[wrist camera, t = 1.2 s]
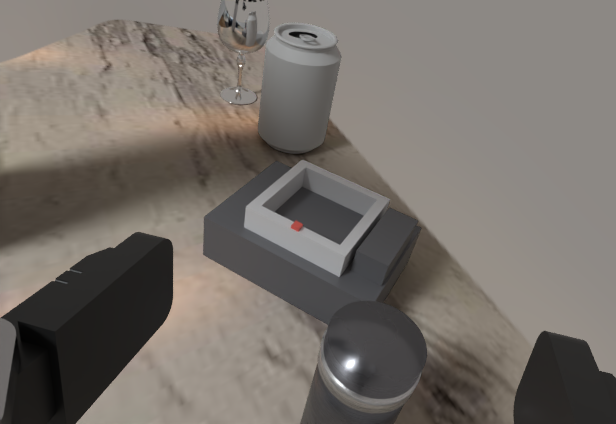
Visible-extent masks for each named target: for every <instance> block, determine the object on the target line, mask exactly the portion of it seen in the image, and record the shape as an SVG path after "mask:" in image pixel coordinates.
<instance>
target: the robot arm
mask: <svg viewBox="0 0 616 424" xmlns="http://www.w3.org/2000/svg"><path fill="white" fill-rule="evenodd" d="M172 300H173V246H172V242H171V241H170V240H169V239H166V238H162V237H157V236H153V235H149V234H145V233H141V232H136V233H134V234H132V235H131V236H130V237H128V238H127V239H126V240H124V241H123V242H122V243H120V244H119V245H118V246H116V247H115V248H111V247H110V248H107V249H105V250H102V251H99V252H96V253H94V254H91V255H88V256H86V257H85V258H84V259H82V260H81V261H79V262H78V263H77V264H75V265H74V266H72V267H71V268H70V271H65V272H64V273H63V274H61V275H60V276H59V277H57V278H56V280H55V282H54V281H52V282H50V283H49V284H47V285H46V286H45V287H43V288H42V289H40V290H39V291H38V292H36V293H35V294H33V295H32V296H31V297H29V298H28V299H26V300H25V301H24V302H22V303H21V304H19V305H18V306H17V307H15V308H14V309H12V310H11V311H10V312H8V313H7V314H5V315H4V316H3V317H1V318H0V424H76V423H77V421H78V420H79V419H80V418H81V417H82V416H83V415H84V413H85V412H86V411H87V410H88V409H89V408H90V407H91V405H92V404H93V403H94V402H95V401H96V400H97V398H98V397H99V396H100V395H101V394H102V393H103V392H104V390H105V389H106V388H107V387H108V386H109V385H110V384H111V382H112V381H113V380H114V379H115V378H116V377H117V376H118V374H119V373H120V372H121V371H122V370H123V369H124V368H125V366H126V365H127V364H128V363H129V362H130V361H131V360H132V358H133V357H134V356H135V355H136V354H137V353H138V352H139V350H140V349H141V348H142V347H143V346H144V345H145V344H146V342H147V341H148V340H149V339H150V338H151V337H152V336H153V334H154V333H155V332H156V331H157V330H158V329H159V328H160V326H161V325H162V324H163V323H164V321H165V320H166V318H167V316H168V314H169V312H170V309H171V305H172ZM514 424H616V378H615V377H614V376H613V375H612V374H610V373H606V372H602V371H599V369H598V367H597V364H596V362H595V360H594V357H593V355H592V353H591V350H590V347H589V345H588V344H587V342H586V341H584V340H580V339H576V338H572V337H568V336H564V335H560V334H556V333H551V332H547V331H543V332H542V333H541V334H540V335H539V337H538V339H537V341H536V343H535V346H534V348H533V351H532V353H531V356H530V358H529V361H528V364H527V366H526V369H525V371H524V374H523V376H522V379H521V381H520V384H519V386H518V389H517V392H516V396H515V402H514Z"/></svg>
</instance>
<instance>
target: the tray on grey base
mask: <svg viewBox="0 0 616 424" xmlns="http://www.w3.org/2000/svg"><path fill="white" fill-rule="evenodd" d="M389 202H390V199H389V198H387V197H385V196H382V195H380V194H378V193H376V192H373V191H371V190H369V189H367V188H365V187H362V186H360V185H358V184H356V183H354V182H351V181H349V180H347V179H345V178H343V177H340V176H338V175H336V174H334V173H331V172H329V171H327V170H325V169H323V168H320V167H318V166H316V165H314V164H312V163H309V162H307V161H305V160H303V159H302V160H301V161H300V162H299V163H297V164H296V165H295V166H294V167H293V168H291V167H289V166H287V165H284V164H282V163H280V162H278V161H275V162H274V163H273V164H271V165H270V166H269V167H267V168H266V169H265V170H264V171H262V172H261V173H260V174H259V175H257V176H256V177H255V178H253V179H252V180H251V181H250V182H248V183H247V184H246V185H244V186H243V187H242V188H241V189H239V190H238V191H237V192H235V193H234V194H233V195H232V196H230V197H229V198H228V199H226V200H225V201H224V202H223V203H221V204H220V205H219V206H217V207H216V208H215V209H214V210H212V211H211V212H210V213H208V214H207V215H206V216H205V217H204V244H203V255H205V256H206V257H208V258H210V259H212V260H214V261H215V262H217V263H219V264H221V265H223V266H224V267H226V268H228V269H230V270H231V271H233V272H235V273H237V274H239V275H240V276H242V277H244V278H246V279H248V280H249V281H251V282H253V283H255V284H256V285H258V286H260V287H262V288H264V289H265V290H267V291H269V292H271V293H273V294H274V295H276V296H278V297H280V298H281V299H283V300H285V301H287V302H289V303H290V304H292V305H294V306H296V307H297V308H299V309H301V310H303V311H305V312H306V313H308V314H310V315H312V316H314V317H315V318H317V319H319V320H321V321H322V322H324V323H326V324H328V325H329V322H330V320H331V318H332V316H333V315H334V314H335V313H336V312H337V311H338V310H339V309H340V308H342V307H343V306H345V305H347V304H349V303H352V302H357V301H377V302H381V303H383V302H384V300H385V299H386V297H387V295H388V294H389V292H390V290H391V289H392V287H393V286H394V284H395V282H396V281H397V279H398V277H399V276H400V274H401V272H402V271H403V269H404V268H405V266H406V264H407V263H408V260H409V258H410V255H411V253H412V250H413V248H414V245H415V243H416V240H417V238H418V235H419V233H420V230H421V227H419V226H416V225H417V223H418V220H416V219H413V218H411V217H409V216H407V215H405V214H402V213H400V212H398V211H396V210H394V209H392V208H389V209H388V210H387V208H388V205H389Z"/></svg>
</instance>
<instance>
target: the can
mask: <svg viewBox="0 0 616 424" xmlns="http://www.w3.org/2000/svg"><path fill="white" fill-rule="evenodd" d="M274 34H275V35H274V36H273V37H272V38H270V39H269V40H268V42H267V43H266V50H265V60H264V70H263V80H262V90H261V100H260V110H259V120H258V133H259V135H260V136H261V138H262V139H264V140H265V141H266V143H267V144H268V145H270V146H271V147H272V148H274V149H276V150H278V151H281V152H285V153H292V154H300V153H306V152H309V151H311V150H312V149H314V148H317V147H318V146H320V145H321V144H322V143H323V141H324V139H325V135H326V130H327V125H328V120H329V115H330V110H331V105H332V100H333V96H334V91H335V86H336V81H337V76H338V71H339V66H340V60H341V54H340V51H339V50H338V48H337V46H336V44H337V42H338V40H337V37H336V36H335V35H334V34H333V33H332V32H330V31H328V30H326V29H324V28H321V27H319V26H315V25H311V24H305V23H285V24H281V25H279V26H277V27H276V28H275V29H274Z"/></svg>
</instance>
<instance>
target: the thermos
mask: <svg viewBox="0 0 616 424" xmlns="http://www.w3.org/2000/svg"><path fill="white" fill-rule="evenodd" d="M426 358H427V348H426V343H425V339H424V337H423V335H422V333H421V331H420V329H419V328H418V327H417V325H416V324H415V323H414V322H413V321H412V320H411V319H410V318H409V317H408V316H407V315H406V314H404V313H403V312H401V311H400V310H398V309H396V308H395V307H392V306H390V305H388V304H385V303H381V302H377V301H357V302H352V303H349V304H347V305H345V306H343V307H342V308H340V309H339V310H338V311H337V312H336V313H335V314H334V315H333V316H332V318H331V320H330V322H329V325H328V328H327V329H326V331H325V333H324V335H323V338H322V341H321V345H320V348H319V353H318V363H317V367H316V370H315V374H314V377H313V381H312V384H311V388H310V391H309V395H308V398H307V402H306V405H305V409H304V412H303V416H302V419H301V423H300V424H394V422H395V420H396V418H397V416H398V415H399V413H400V411H401V409H402V407H403V405H404V403H406V402H407V401H408V399H409V398H410V397H411V395H412V393H413V391H414V389H415V387H416V386H417V384H418V382H419V380H420V377H421V374H422V369H423V367H424V365H425V362H426Z"/></svg>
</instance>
